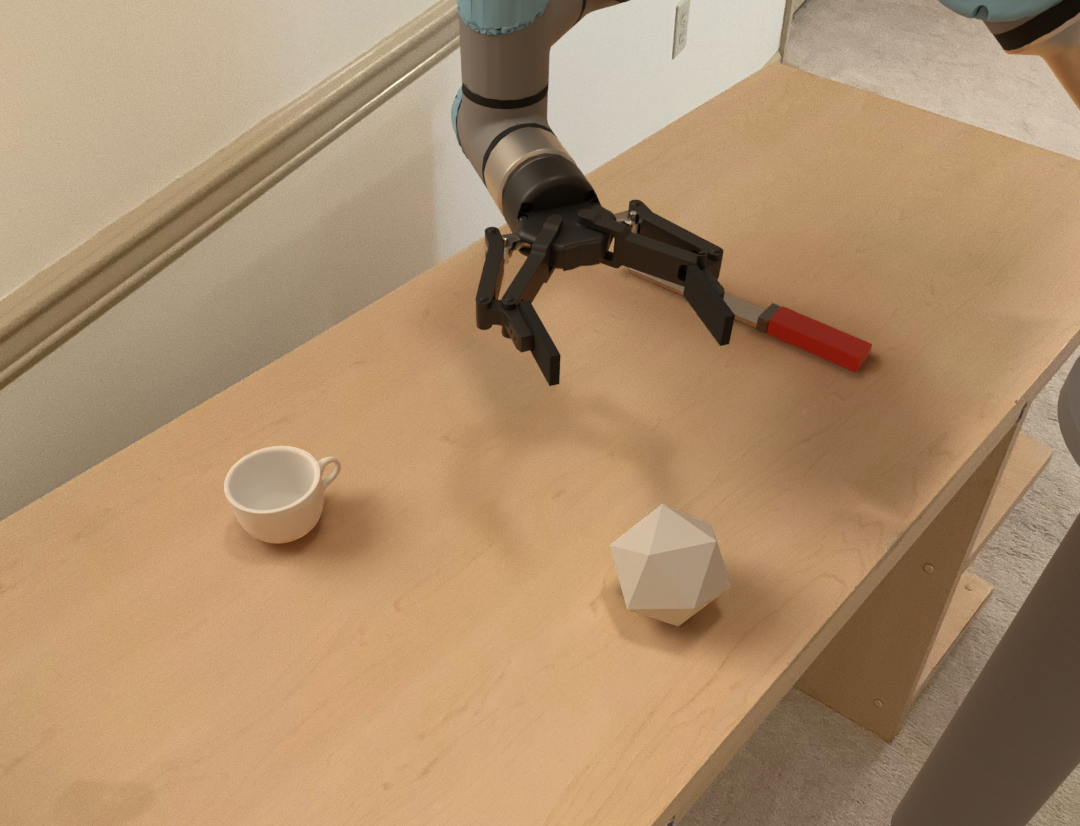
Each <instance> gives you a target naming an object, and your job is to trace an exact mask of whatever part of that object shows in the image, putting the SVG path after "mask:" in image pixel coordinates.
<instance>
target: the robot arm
mask: <svg viewBox="0 0 1080 826" xmlns="http://www.w3.org/2000/svg"><path fill="white" fill-rule="evenodd" d="M629 1H630V2H631V0H456V5H457V7H456V8H457V12H458V30H459V31H458V33H459V50H460V70H461V86H460V87H459V89H458V90H457V93H456V95H455V97H454V99H453V101H452V104H451V109H450V120H451V121H450V122H451V126H452V129H453V132H454V134H455V139H456V141H457V144H458V146H459V147H460V149H461V152H462V153H463V154H464V156H465V158H466V159H467V160H468V161H469V163H470V165H471V167H472V168H473V169H474V170H475V172H476V174H477V175H478V177H479V179H480V181H481V182H482V183H483V185H484V186H485V188H486V190H487V192H488V194H489V195H490V197H491V198H492V200H493V202H494V204H495V205H496V207H497V209H498V210H499V213H500V214H501V215H502V217H503V218H504V220H505V222H506V224H507V226H508V228H509V229H510V231H511V233H505V234H502V232H501V229H500V228H498V227H496V226H488V227H486V228H485V229H484V255H485V256H484V257H485V258H484V263H483V265H482V266H483V267H482V271H481V274H480V278H479V283H478V287H477V291H476V295H475V320H476V321H475V324H476V328H477V329H479V330H482V331H487V330H490V329H491V328H493V326H501V335H502V337H503V338H505V339H510V340H511V341H512V343H513V345H514V347H515V350H517V351H518V352H520V353H521V354H522V353H526V352H530V353H531V355H532V357H533V359H534V360H535V362H536V364H537V366H538V368H539V369H540V371H541V374H542V375H543V377H544V380H545V381H546V382H547V385H548V386H549V387H552V386H557V385H560V378H561V356H562V355H561V353H560V351H559V349H558V347H557V346H556V344H555V342H554V341H553V339H552V337H551V335H550V334H549V332H548V330H547V328H546V327H545V325H544V323H543V322H542V319H541V318H540V316H539V315H538V313H537V311H536V308H535V307H534V305H533V302H534V301H535V299H536V297H537V295H538V293H539V292H540V290H541V288H542V287H543V285H544V284H548V282H549V281H550V279H551V277H552V276H553V273H554V272H555V270H556V269H558V270H562V271H563V272H567V271H573V270H575V269H577V268H579V267H592V266H596V265H597V266H598V265H600V264H602V265H605V266H608V267H610V268H613V269H620V268H621V267H626V268H628V269H629V268H631V269H634V270H637V271H640V272H643V273H646V274H649V275H652V276H654V277H657V278H660V279H663V280H666V281H669V282H672V283H675V284H677V285H680V286H683V287H684V293H683V296H682V297H684V298H685V300H686V301H687V303H688V304H689V306H690V307H691V308H692V310H693V311H694V312H695V313H696V315H697V317H698V318H699V319H700V321H701V322H702V323H703V325H704V326H705V327H706V329H707V330H708V332H710V334H711V336H712V338H713V339H714V341H716V343H717V344H718V346H719V347H723V346H727V345H730V342H731V337H732V332H733V327H734V323H735V320H736V319H735V314H734V313H733V312H732V310H731V309H730V308H729V306H728V305H727V304H726V302H725V301H724V300H723V299H724V294H725V293H726V292H725V288H724V287H723V285H722V284H721V282H720V281H719V278H720V273H721V270H722V269H721V268H722V263H723V258H724V252H725V251H724V248H722V247H720V246H719V245H717V244H715V243H713V242H711V241H709V240H708V239H705V238H703V237H701V236H699V235H697V234H695V233H694V232H692V231H690V230H688V229H686V228H684V227H682V226H680V225H679V224H676V223H674V222H673V221H671V220H668V219H667V218H665V217H664V216H661V215H659V214H657V213H656V212H653V211H652V210H651V209H650V208H649V207H648V205H646V204H645V202H644V201H642V200H640V199H632V200H629V203H628V209H627V210H623V211H620V212H616V213H614V212H613V211H611V210H609V209H607V208H605V207H604V206H603V205H602V204H601V202H600V199H599V197H598V195H597V192H596V190H595V188H594V187H593V186H592V184H591V183H590V181H589V180H588V179H587V177H586V176H585V174H584V173H583V172H582V170H581V169H580V167H579V166H578V165H577V163H576V161H575V159H574V158H573V157H572V155H571V154H570V153H569V151H568V150H567V148H566V147H564V145H563V143H562V142H561V141H560V140H559V138H558V136H557V135H556V134H555V132H554V131H553V130H552V128H551V126H550V125H549V122H548V121H549V120H548V103H549V98H548V97H549V85H550V81H549V80H550V53H551V49H552V47H553V46H554V45H555V44H556V43H557V42H558V41H559V40H561V38H562V37H563V36H565V34H567V33H568V32H570V30H571V29H572V28H574V27H575V26H576V25H577V24H578V23H579V22H581V21H582V19H583V18H585V17H586V16H587V15H588V14H590V13H594V12H595V11H599V10H603V9H606V8H610V7H614V6H617V5H620V4H623V3H627V2H629ZM937 2H939V3H940V4H941V5H943V6H944V8H946V9H948V10H950V11H951V12H952V13H955V14H957V15H959V16H962V17H964V18H967V19H971V20H972V19H975V20H979V21H982V22H983V24H984V25H985V26H986V28H987V30H988V31H989V32H990V34H992V36H993V37H994V38H995V40H996V41H997V43H998V44H999V46H1000V47H1001V48H1002V50H1003V52H1005V54H1006V55H1016V56H1017V55H1019V56H1020V55H1021V56H1036V57H1037V56H1039V57H1040V58H1042V59H1043V60H1044V62H1045V63H1046V65H1047V66H1048V68H1049V69H1050V70H1051V72H1052V73H1053V74H1054V76H1055V77H1056V79H1057V80H1058V82H1059V83H1060V84H1061V86H1062V88H1063V89H1064V90H1065V91H1066V93H1067V95H1068V96H1069V98H1070V99H1071V100H1072V101H1073V103H1074V105H1075V106H1076V107H1077V109H1078V110H1079V111H1080V0H937ZM612 243H613V251H610V247H611V246H612ZM515 251H518V253H520V254H521V255H522V256H525V257H527V258H526V259H525V260H524V262H523V263H522V265H521V267H520V268H519V270H518V272H517V273H516V275H515V276H514V278H513V279H512V281H511V282H510V284H509V286H508V287H507V289H506V290H505V292H504V294H502V296H501V299H499V298H500V293H501V290H502V284H503V280H504V275H505V266H507V265H508V264H509V262H510V259H511V258H513V254H514V252H515Z"/></svg>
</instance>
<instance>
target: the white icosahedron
mask: <svg viewBox="0 0 1080 826" xmlns="http://www.w3.org/2000/svg"><path fill="white" fill-rule="evenodd" d="M608 547H609V549H610V553H611V557H612V561H613V564H614V569H615V571H616V575H617V578H618V582H619V585H620V590H621V593H622V596H623V599H624V603H625V607H626V610H628V611H630V612H634V613H637V614H640V615H643V616H646V617H648V618H651V619H654V620H658V621H660V622H664V623H666V624H668V625H671V626H675V627H678V628H679V627H680V626H681V625H682V624H684V623H685V622H686V621H688V620H689V619H690V618H692V617H693V616H695V615H696V614H698V612H699V611H701V610H703V609H704V608H705V607H706V606H708V605H710V603H712V602H713V601H714V600H716V599H717V598H719V597H720V596H721V595H722V594H724V593H725V592H726V591H728V590H729V589H730V588H732V584H731V580H730V577H729V573H728V571H727V568H726V565H725V562H724V559H723V555H722V552H721V548H720V546H719V543H718V539H717V536H716V533H715V530H714V527H713V524H712V523H710V522H707V521H704V520H703V519H700V518H697V517H695V516H692V515H690V514H689V513H686V512H683V511H680V510H679V509H676V508H673V507H671V506H670V505H666V504H664V503H661V504H660V505H659V506H657V507H656V508H655V509H654V510H652V511H651V512H649V513H648V514H646V516H645V517H643V518H642V519H641V520H640V521H639V522H637V523H636V524H634V525H633V526H632V527H631V528H629V529H628V530H626V532H624V533H623V534H622V535H620V536H619V537H618V538H616V540H614V541H613V542H611V544H609V545H608Z"/></svg>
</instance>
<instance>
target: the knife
mask: <svg viewBox="0 0 1080 826" xmlns="http://www.w3.org/2000/svg"><path fill="white" fill-rule="evenodd" d="M628 273H629V274H632V275H634V276H636V277H639V278H640V279H642V280H645V281H646V282H647V281H648V282H650V283H651V284H654V285H656V286H659V287H661V288H663V289H666V290H668V291H669V292H672V293H674V294H677V295H679V296H681V297H684V296H683V293H684V287H683V286H680V285H677V284H675V283H672V282H669V281H666V280H663V279H660V278H657V277H654V276H652V275H649V274H646V273H643V272H640V271H637V270H634V269H631V268H629V267H628ZM723 300H724V301H725V302H726V304H727V305H728V306H729V308H730V309H731V310H732V312H733V313H734V314H735V319H734V320H735V321H739V322H740V323H742V324H746V325H748V326H750V327H752V328H755V330H757V331H759V332H761V333H763V334H766V335H770V336H771V337H774V338H776V339H778V340H781V341H783V342H786V343H788V344H790V345H792V346H794V347H796V348H799V349H801V350H804V351H805V352H808V353H810V354H813V355H815V356H817V357H820V358H822V359H824V360H827V361H829V362H831V363H833V364H836V365H838V366H840V367H842V368H845V369H847V370H849V371H852V372H853V373H857V372H858V371H859V369H860V368H861V367H862V366H863V364H865V362H867V360H868V359H869V356H870V353H871V351H872V347H873V343H871V342H869V341H867V340H864V339H862V338H859V337H857V336H855V335H852V334H850V333H847V332H846V331H843V330H840V329H838V328H836V327H833V326H831V325H828V324H826V323H824V322H822V321H819V320H817V319H814V318H812V317H810V316H808V315H805V314H804V313H801V312H798V311H795V310H794V309H791V308H789V307H786V306H784V305H782V306H781V305H779V304H776V303H774V302H772V303H771V304H770V305H768V306H767V307H766V308H763V307H760V306H758V305H756V304H753V303H751V302H748V301H746V300H744V299H741V298H739V297H737V296H734V295H732V294H730V293H727V292H725V294H724V299H723Z"/></svg>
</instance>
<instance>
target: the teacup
mask: <svg viewBox="0 0 1080 826" xmlns="http://www.w3.org/2000/svg"><path fill="white" fill-rule="evenodd" d="M330 463H331V464H332V463H334V468H333V470H332V472H331V473H330V474H329V475H328V476H327V477H325V478H324V479H323V474H324V471H325V469H326V467H327V466H328V465H329V464H330ZM341 470H342V464H341V462H340V460H339V458H337V457H335V456H333V455H330V456H325V457H323V458H321V459H319V460H317V459H316V458H315V456H313V455H312V453H309V451H307V450H306V449H305V450H304V449H302V448H300V447H297V446H293V445H273V446H267V447H263V448H260V449H257V450H254V451H251V452H249V453H248V454H246V455H244V456H242V457H241V458H240V459H239V460H237V461H236V462H235V463H234V464H233V465H232V466H231V467H230V468H229V470H228V471H227V474H226V475H225V478H224V481H223V491H224V495H225V497H226V499H227V502H228V504H229V507H230V509H231V511H232V513H233V515H234V517H235V518H236V520H237V522H238V523H239V525H240V526H241V527H242V528H243V530H244V531H245V532H246V533H247V534H248V535H249V536H251V537H253V538H255V539H256V540H259V541H261V542H265V543H268V544H287V543H291V542H294V541H297V540H299V539H301V538H303V537H304V536H306V535H307V534H309V533H310V532H311V531H312V530H313V529H314V528H315V527H316V525H317V524H318V522H319V521H320V518H321V516H322V514H323V509H324V505H325V504H324V503H325V493H324V491H326V489H327V488H328V487H329V486H330V485H331V484H332V483H333V482H334V480H336V479H337V478H338V476H339V474H340V473H341Z"/></svg>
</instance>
